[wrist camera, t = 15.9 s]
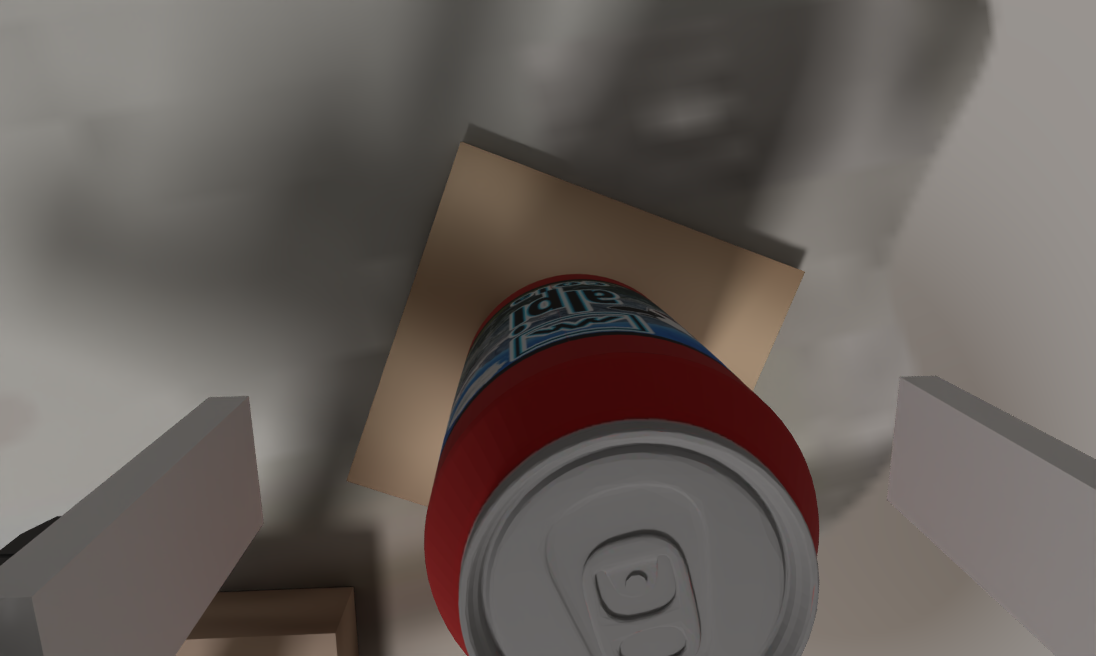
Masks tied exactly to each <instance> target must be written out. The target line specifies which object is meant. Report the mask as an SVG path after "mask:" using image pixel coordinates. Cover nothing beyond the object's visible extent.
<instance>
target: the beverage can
mask: <svg viewBox="0 0 1096 656" xmlns="http://www.w3.org/2000/svg"><path fill="white" fill-rule="evenodd" d="M818 545H819V516H818V507H817V500H816V494H815V489H814V485H813V481H812V477H811V475H810V472H809V469H808V466H807V463H806V461H805V459H804V457H803V454H802V452H801V450H800V448H799V446H798V445H797V443H796V441H795V440H794V438H793V436H792V434H791V433H790V432H789V430H788V429H787V428H786V426H785V425H784V423H783V422H782V421H781V420H780V418H779V417H778V416H777V415H776V414H775V413H774V412H773V410H772V409H771V408H770V407H769V406H768V405H766V404H765V403H764V402H763V401H762V400H761V399H760V398H759V397H758V396H757V395H756V394H755V393H754V392H753V391H752V390H751V389H750V388H749V387H747V386H746V385H745V384H744V383H743V382H742V381H741V380H740V379H739V378H738V377H737V376H736V375H735V374H734V373H733V372H732V371H731V370H730V369H728V368H727V367H726V366H725V365H724V364H723V363H722V362H721V361H720V360H719V359H718V358H717V357H716V356H714V355H713V354H712V353H711V352H710V351H709V350H708V349H707V348H706V347H704V346H703V345H702V344H701V343H700V342H699V341H698V340H697V339H696V338H694V337H693V336H692V335H691V334H690V333H689V332H688V331H687V330H685V329H684V328H683V327H682V326H681V325H680V324H678V323H677V322H676V321H675V320H674V319H673V318H671V317H670V316H669V315H668V314H667V313H666V312H664V311H663V310H662V309H661V308H659V307H658V306H657V305H656V304H655V303H653V302H652V301H651V300H650V299H648V298H647V297H646V296H644V295H643V294H642V293H640V292H638V291H637V290H635V289H634V288H632V287H630V286H628V285H626V284H624V283H621V282H619V281H616V280H613V279H610V278H606V277H602V276H597V275H589V274H566V275H558V276H553V277H549V278H545V279H542V280H539V281H536V282H534V283H531V284H529V285H527V286H525V287H523V288H521V289H519V290H518V291H516V292H515V293H513V294H511V295H510V296H509V297H507V298H506V299H505V300H503V301H502V302H501V303H500V304H499V305H498V306H497V307H496V308H495V309H494V310H493V311H492V312H491V313H490V314H489V315H488V317H487V318H486V319H485V321H484V322H483V323H482V325H481V326H480V328H479V329H478V331H477V333H476V335H475V337H474V339H473V341H472V343H471V346H470V348H469V351H468V354H467V358H466V361H465V364H464V367H463V371H462V374H461V377H460V380H459V384H458V387H457V391H456V395H455V398H454V402H453V405H452V409H451V413H450V417H449V421H448V425H447V428H446V432H445V436H444V440H443V444H442V448H441V453H440V457H439V461H438V466H437V470H436V474H435V479H434V483H433V487H432V492H431V496H430V500H429V505H428V510H427V515H426V523H425V533H424V551H425V563H426V569H427V575H428V580H429V583H430V587H431V591H432V594H433V597H434V599H435V602H436V605H437V607H438V610H439V612H440V614H441V616H442V618H443V620H444V622H445V624H446V626H447V628H448V629H449V631H450V633H451V634H452V636H453V637H454V639H455V641H456V642H457V643H458V645H459V646H460V647H461V649H462V650H463V651H464V652H465V654H466V655H467V656H801V654H802V653H803V651H804V648H805V646H806V644H807V641H808V639H809V636H810V633H811V630H812V626H813V624H814V620H815V615H816V611H817V603H818V593H819V572H818V563H817V552H818Z"/></svg>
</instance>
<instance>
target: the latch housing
mask: <svg viewBox="0 0 1096 656" xmlns="http://www.w3.org/2000/svg"><path fill="white" fill-rule="evenodd" d="M175 656H359V651H358V638H357V626H356V613H355V600H354V587H338V588H313V589H288V590H263V591H239V592H217V594H216V595H215V597H214V598H213V600H212V601H211V603H210V604H209V606H208V607H207V609H206V610H205V612H204V613H203V615H202V616H201V618H200V619H199V621H198V622H197V624H196V625H195V627H194V628H193V630H192V631H191V633H190V634H189V636H188V637H187V639H186V640H185V642H184V643H183V645H182V646H181V648H180V649H179V651H178V652H177V654H176V655H175Z"/></svg>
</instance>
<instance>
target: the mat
mask: <svg viewBox="0 0 1096 656" xmlns="http://www.w3.org/2000/svg"><path fill="white" fill-rule="evenodd" d="M804 273H805V272H804V271H801V270H799V269H796V268H794V267H791V266H788V265H786V264H783V263H780V262H778V261H775V260H772V259H770V258H767V257H765V256H762V255H759V254H757V253H754V252H751V251H749V250H746V249H743V248H741V247H738V246H736V245H733V244H730V243H728V242H725V241H722V240H720V239H717V238H714V237H712V236H709V235H707V234H704V233H701V232H699V231H696V230H693V229H691V228H688V227H685V226H683V225H680V224H678V223H675V222H672V221H670V220H667V219H664V218H662V217H659V216H656V215H654V214H651V213H649V212H646V211H643V210H641V209H638V208H635V207H633V206H630V205H627V204H625V203H622V202H619V201H617V200H614V199H612V198H609V197H606V196H604V195H601V194H598V193H596V192H593V191H590V190H588V189H585V188H583V187H580V186H577V185H575V184H572V183H569V182H567V181H564V180H561V179H559V178H556V177H554V176H551V175H548V174H546V173H543V172H540V171H538V170H535V169H532V168H530V167H527V166H525V165H522V164H519V163H517V162H514V161H511V160H509V159H506V158H503V157H501V156H498V155H496V154H493V153H490V152H488V151H485V150H482V149H480V148H477V147H474V146H472V145H469V144H467V143H464V142H460V145H459V148H458V151H457V154H456V157H455V160H454V163H453V166H452V169H451V172H450V175H449V178H448V181H447V184H446V187H445V190H444V193H443V196H442V199H441V202H440V204H439V207H438V210H437V213H436V216H435V219H434V222H433V225H432V228H431V231H430V234H429V237H428V240H427V243H426V246H425V249H424V252H423V255H422V258H421V261H420V264H419V267H418V270H417V273H416V276H415V279H414V282H413V285H412V288H411V291H410V294H409V297H408V299H407V302H406V305H405V308H404V311H403V314H402V317H401V320H400V323H399V326H398V329H397V332H396V335H395V338H394V341H393V344H392V347H391V350H390V353H389V356H388V359H387V362H386V365H385V368H384V371H383V374H382V377H381V380H380V383H379V386H378V389H377V391H376V394H375V397H374V400H373V403H372V406H371V409H370V412H369V415H368V418H367V421H366V424H365V427H364V430H363V433H362V436H361V439H360V442H359V445H358V448H357V451H356V454H355V457H354V460H353V463H352V466H351V469H350V472H349V475H348V478H347V481H348V482H351V483H355V484H358V485H361V486H364V487H367V488H370V489H374V490H377V491H380V492H383V493H386V494H389V495H392V496H396V497H399V498H402V499H405V500H408V501H411V502H415V503H418V504H421V505H424V506H427V507H428V505H429V500H430V496H431V492H432V487H433V483H434V479H435V474H436V470H437V466H438V461H439V457H440V453H441V448H442V444H443V440H444V436H445V432H446V428H447V425H448V421H449V417H450V413H451V409H452V405H453V402H454V398H455V395H456V391H457V387H458V384H459V380H460V377H461V374H462V371H463V367H464V364H465V361H466V358H467V354H468V351H469V348H470V346H471V343H472V341H473V339H474V337H475V335H476V333H477V331H478V329H479V328H480V326H481V325H482V323H483V322H484V321H485V319H486V318H487V317H488V315H489V314H490V313H491V312H492V311H493V310H494V309H495V308H496V307H497V306H498V305H499V304H500V303H501V302H502V301H503V300H505V299H506V298H507V297H509V296H510V295H511V294H513V293H515V292H516V291H518V290H519V289H521V288H523V287H525V286H527V285H529V284H531V283H534V282H536V281H539V280H542V279H545V278H549V277H553V276H558V275H566V274H589V275H597V276H602V277H606V278H610V279H613V280H616V281H619V282H621V283H624V284H626V285H628V286H630V287H632V288H634V289H635V290H637V291H638V292H640V293H642V294H643V295H644V296H646V297H647V298H648V299H650V300H651V301H652V302H653V303H655V304H656V305H657V306H658V307H659V308H661V309H662V310H663V311H664V312H666V313H667V314H668V315H669V316H670V317H671V318H673V319H674V320H675V321H676V322H677V323H678V324H680V325H681V326H682V327H683V328H684V329H685V330H687V331H688V332H689V333H690V334H691V335H692V336H693V337H694V338H696V339H697V340H698V341H699V342H700V343H701V344H702V345H703V346H704V347H706V348H707V349H708V350H709V351H710V352H711V353H712V354H713V355H714V356H716V357H717V358H718V359H719V360H720V361H721V362H722V363H723V364H724V365H725V366H726V367H727V368H728V369H730V370H731V371H732V372H733V373H734V374H735V375H736V376H737V377H738V378H739V379H740V380H741V381H742V382H743V383H744V384H745V385H746V386H747V387H749V388H750V389H751V390H752V391H753V390H754V387H755V385H756V383H757V380H758V378H759V376H760V374H761V371H762V369H763V367H764V364H765V362H766V360H767V358H768V355H769V353H770V351H771V348H772V346H773V344H774V342H775V339H776V337H777V335H778V332H779V330H780V328H781V326H782V323H783V321H784V319H785V316H786V314H787V312H788V310H789V307H790V305H791V303H792V300H793V298H794V296H795V294H796V291H797V289H798V287H799V284H800V282H801V280H802V278H803V275H804Z"/></svg>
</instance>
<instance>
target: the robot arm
mask: <svg viewBox="0 0 1096 656" xmlns="http://www.w3.org/2000/svg"><path fill="white" fill-rule="evenodd" d="M887 501H889V502H890V503H891V504H892V505H893V506H894V507H895V508H896V509H897V510H898V511H899V512H900V513H902V514H903V515H904V516H905V517H906V518H907V519H908V520H909V521H910V522H911V523H912V524H913V525H915V526H916V527H917V528H918V529H919V530H920V531H921V532H922V533H923V534H924V535H925V536H926V537H928V538H929V539H930V540H931V541H932V542H933V543H934V544H935V545H936V546H937V547H938V548H939V549H941V550H942V551H943V552H944V553H945V554H946V555H947V556H948V557H949V558H950V559H951V560H952V561H953V562H955V563H956V564H957V565H958V566H959V567H960V568H961V569H962V570H963V571H964V572H965V573H967V574H968V575H969V576H970V577H971V578H972V579H973V580H974V581H975V582H976V583H977V584H978V585H980V586H981V587H982V588H983V589H984V590H985V591H986V592H987V593H988V594H989V595H990V596H991V597H992V598H994V599H995V600H996V601H997V602H998V603H999V604H1000V605H1001V606H1002V607H1003V608H1004V609H1005V610H1007V611H1008V612H1009V613H1010V614H1011V615H1012V616H1013V617H1014V618H1015V619H1016V620H1017V621H1019V622H1020V623H1021V624H1022V625H1023V626H1024V627H1025V628H1026V629H1027V630H1028V631H1029V632H1030V633H1031V634H1033V635H1034V636H1035V637H1036V638H1037V639H1038V640H1039V641H1040V642H1041V643H1042V644H1043V645H1044V646H1046V647H1047V648H1048V649H1049V650H1050V651H1051V652H1052V653H1053V654H1054V655H1055V656H1096V459H1094V458H1092V457H1090V456H1088V455H1086V454H1085V453H1083V452H1081V451H1078V450H1077V449H1075V448H1073V447H1071V446H1069V445H1067V444H1065V443H1063V442H1062V441H1060V440H1058V439H1056V438H1054V437H1052V436H1050V435H1048V434H1046V433H1044V432H1042V431H1041V430H1039V429H1037V428H1035V427H1033V426H1031V425H1029V424H1027V423H1025V422H1023V421H1022V420H1020V419H1018V418H1016V417H1014V416H1012V415H1010V414H1008V413H1006V412H1004V411H1002V410H1001V409H999V408H997V407H995V406H993V405H991V404H989V403H987V402H985V401H983V400H981V399H980V398H978V397H976V396H974V395H972V394H970V393H968V392H966V391H964V390H962V389H960V388H959V387H957V386H955V385H953V384H951V383H949V382H947V381H945V380H943V379H941V378H940V377H937V376H912V377H900V380H899V389H898V399H897V409H896V418H895V428H894V437H893V447H892V456H891V466H890V476H889V485H888V495H887ZM263 524H264V522H263V513H262V505H261V496H260V488H259V480H258V471H257V463H256V454H255V446H254V437H253V429H252V420H251V412H250V404H249V396H238V397H209V398H208V399H206V400H205V401H204V402H203V403H201V404H200V405H199V406H198V407H196V408H195V409H194V410H193V411H191V412H190V413H189V414H188V415H187V416H185V417H184V418H183V419H182V420H180V421H179V422H178V423H177V424H175V425H174V426H173V427H172V428H170V429H169V430H168V431H167V432H165V433H164V434H163V435H162V436H161V437H159V438H158V439H157V440H156V441H154V442H153V443H152V444H151V445H149V446H148V447H147V448H146V449H144V450H143V451H142V452H141V453H139V454H138V455H137V456H136V457H134V458H133V459H132V460H131V461H130V462H128V463H127V464H126V465H125V466H123V467H122V468H121V469H120V470H118V471H117V472H116V473H115V474H113V475H112V476H111V477H110V478H108V479H107V480H106V481H105V482H104V483H102V484H101V485H100V486H99V487H97V488H96V489H95V490H94V491H92V492H91V493H90V494H89V495H87V496H86V497H85V498H84V499H82V500H81V501H80V502H79V503H78V504H76V505H75V506H74V507H73V508H71V509H70V510H69V511H68V512H66V513H65V514H64V515H63V516H57V517H55V518H53V519H51V520H49V521H47V522H45V523H43V524H41V525H39V526H36V527H34V528H32V529H30V530H28V531H26V532H24V533H22V534H20V535H19V536H18V537H17V538H15V539H14V540H13V541H11V542H10V543H9V544H8V545H6V546H5V547H4V548H2V549H1V550H0V656H175V655H176V654H177V652H178V651H179V649H180V648H181V646H182V645H183V643H184V642H185V640H186V639H187V637H188V636H189V634H190V633H191V631H192V630H193V628H194V627H195V625H196V624H197V622H198V621H199V619H200V618H201V616H202V615H203V613H204V612H205V610H206V609H207V607H208V606H209V604H210V603H211V601H212V600H213V598H214V597H215V595H216V594H217V592H218V591H219V589H220V588H221V586H222V585H223V583H224V582H225V580H226V579H227V577H228V576H229V574H230V573H231V571H232V570H233V568H234V567H235V565H236V564H237V562H238V561H239V559H240V558H241V556H242V555H243V553H244V552H245V550H246V549H247V547H248V546H249V544H250V543H251V541H252V540H253V539H254V537H255V536H256V534H257V533H258V531H259V530H260V528H261V527H262V525H263Z"/></svg>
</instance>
